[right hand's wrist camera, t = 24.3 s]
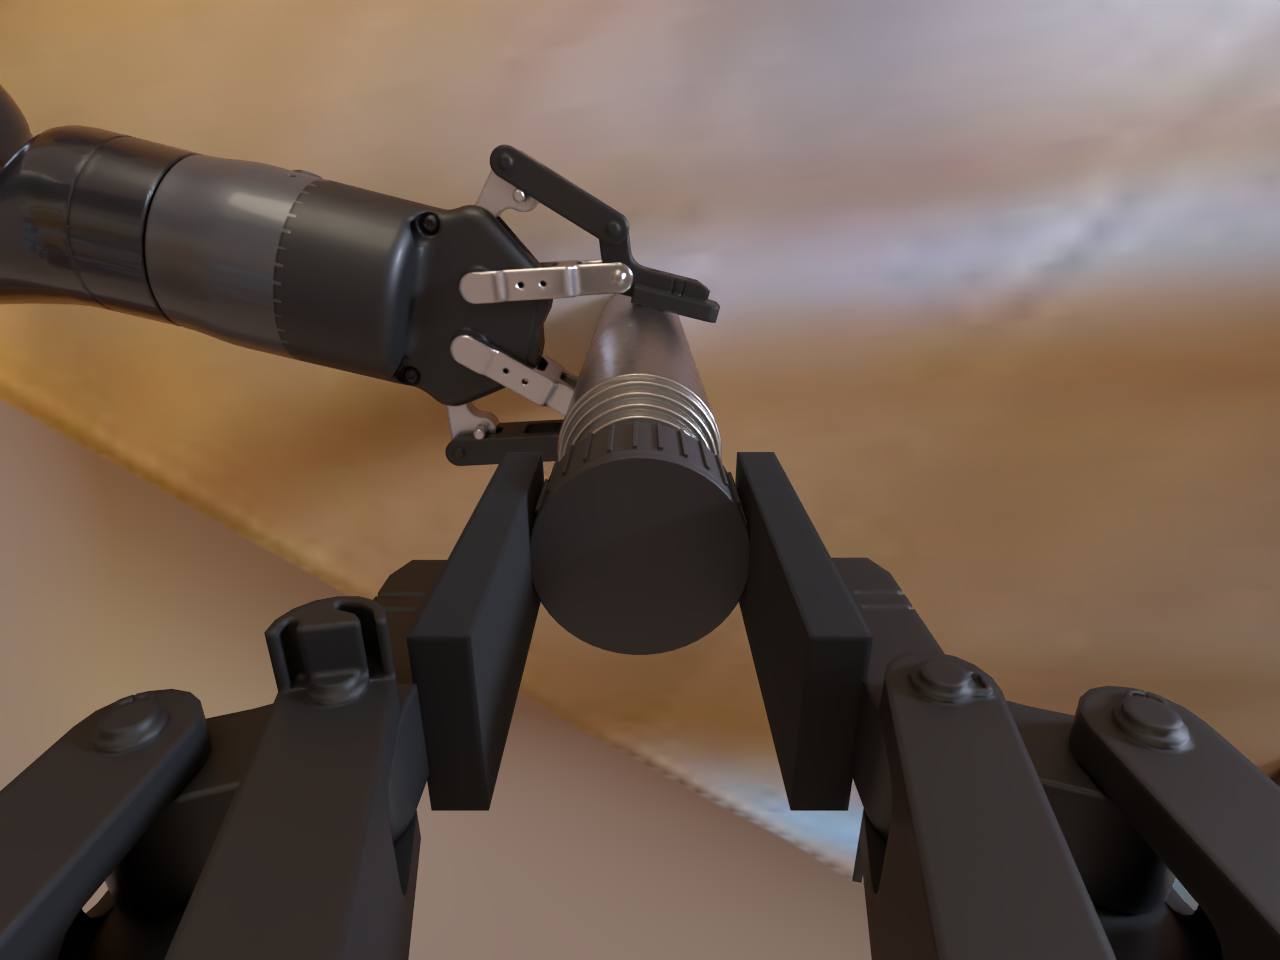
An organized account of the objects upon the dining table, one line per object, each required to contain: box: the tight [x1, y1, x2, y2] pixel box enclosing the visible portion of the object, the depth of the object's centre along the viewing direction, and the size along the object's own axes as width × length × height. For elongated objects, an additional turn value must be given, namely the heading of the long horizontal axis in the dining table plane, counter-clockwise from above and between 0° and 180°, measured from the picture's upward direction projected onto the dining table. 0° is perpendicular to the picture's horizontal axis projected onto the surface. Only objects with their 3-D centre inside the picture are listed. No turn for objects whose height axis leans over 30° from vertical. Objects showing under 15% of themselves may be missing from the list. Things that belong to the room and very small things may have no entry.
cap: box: [530, 421, 750, 655], centre depth 14 cm, size 4×4×2 cm
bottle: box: [557, 294, 721, 461], centre depth 25 cm, size 4×4×25 cm
